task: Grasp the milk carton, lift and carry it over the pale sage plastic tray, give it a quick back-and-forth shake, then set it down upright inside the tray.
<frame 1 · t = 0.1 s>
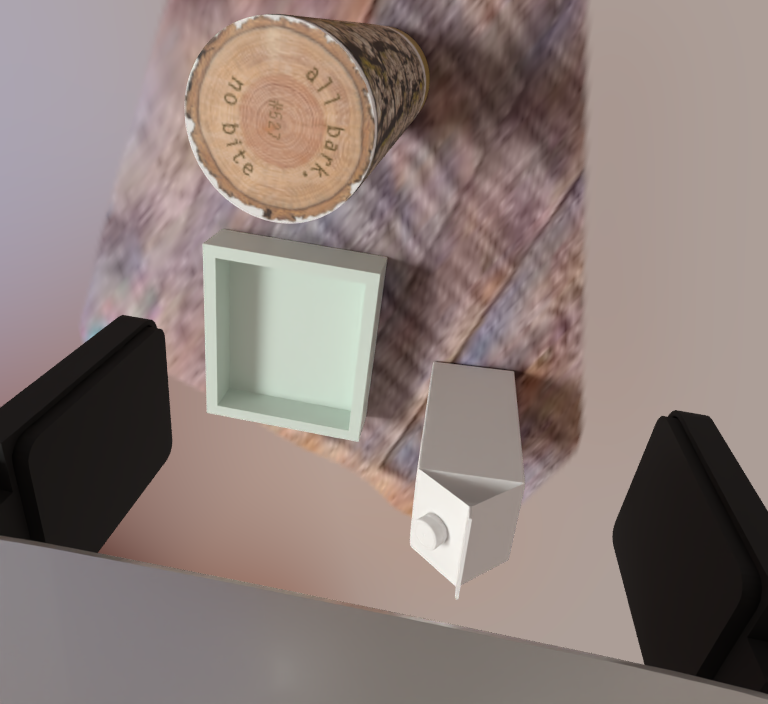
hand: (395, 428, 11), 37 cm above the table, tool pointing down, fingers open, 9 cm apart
paper tube: (383, 79, 42), on the table
tray: (298, 328, 53), on the table
milk carton: (468, 397, 54), on the table
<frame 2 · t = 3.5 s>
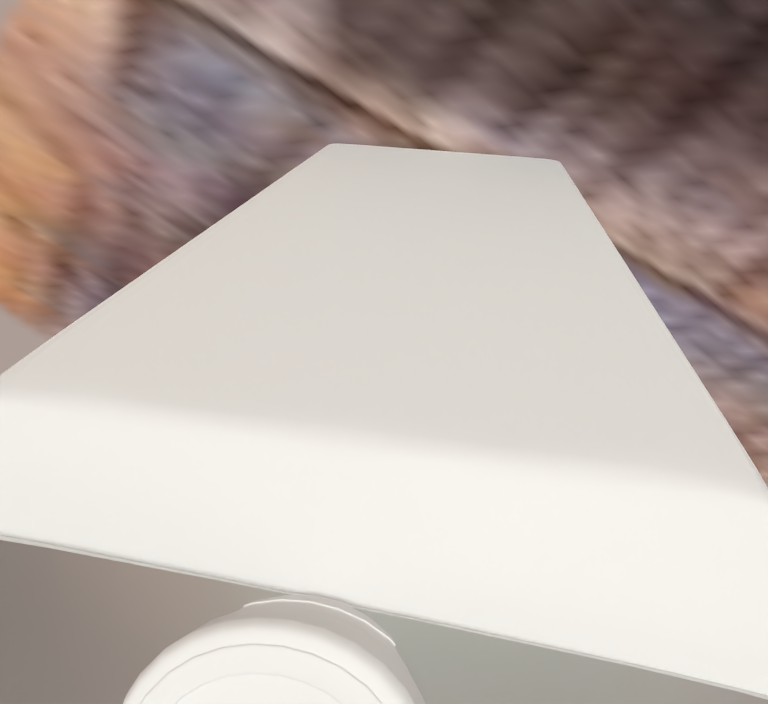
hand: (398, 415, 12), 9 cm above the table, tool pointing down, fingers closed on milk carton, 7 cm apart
milk carton: (433, 258, 20), on the table, touching gripper
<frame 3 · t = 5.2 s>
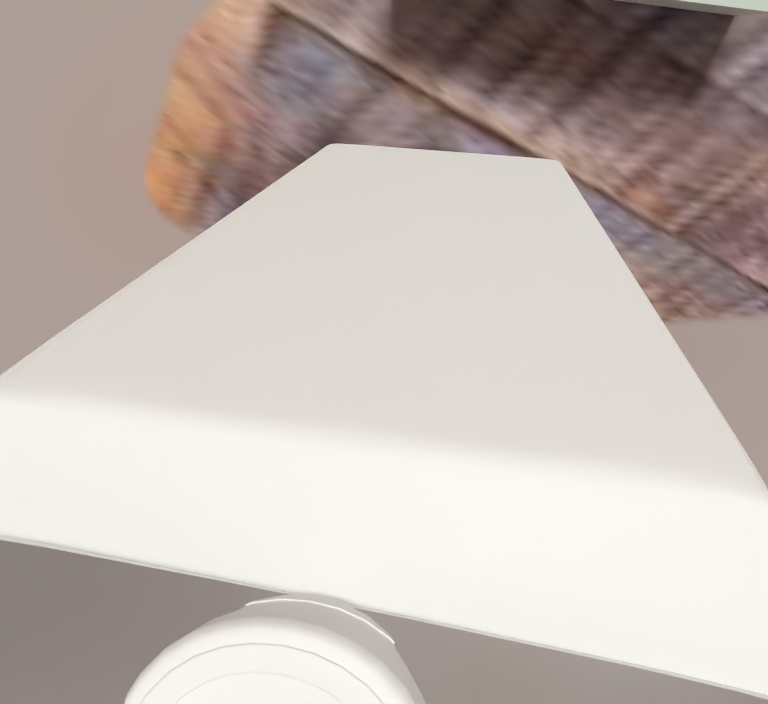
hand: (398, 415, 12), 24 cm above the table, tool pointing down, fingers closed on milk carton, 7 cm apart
milk carton: (433, 258, 20), point 14 cm above the table, touching gripper
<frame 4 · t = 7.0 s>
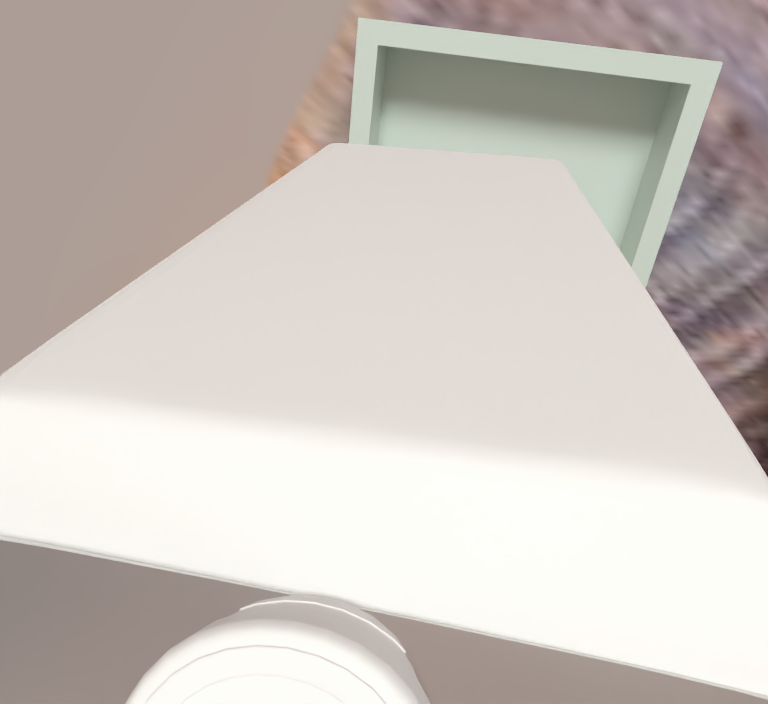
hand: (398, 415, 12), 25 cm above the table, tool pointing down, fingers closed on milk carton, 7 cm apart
tray: (502, 181, 33), on the table
milk carton: (434, 258, 20), point 15 cm above the table, touching gripper
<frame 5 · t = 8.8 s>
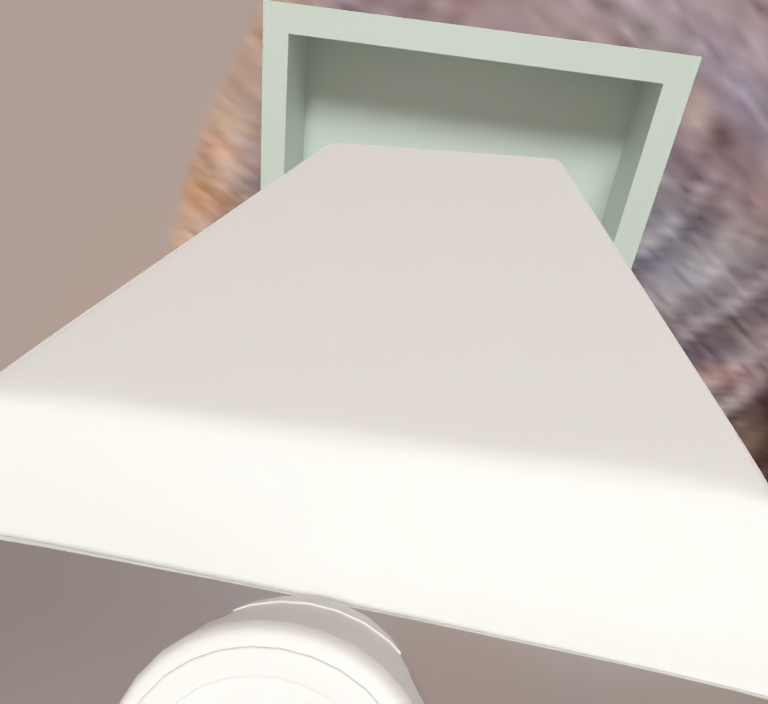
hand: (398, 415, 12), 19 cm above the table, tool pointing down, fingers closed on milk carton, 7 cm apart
tray: (449, 194, 28), on the table
milk carton: (432, 258, 20), point 10 cm above the table, touching gripper
when the fingers open (12 cm above the table, at t = 10.6 s): milk carton drops 2 cm, resting on tray.
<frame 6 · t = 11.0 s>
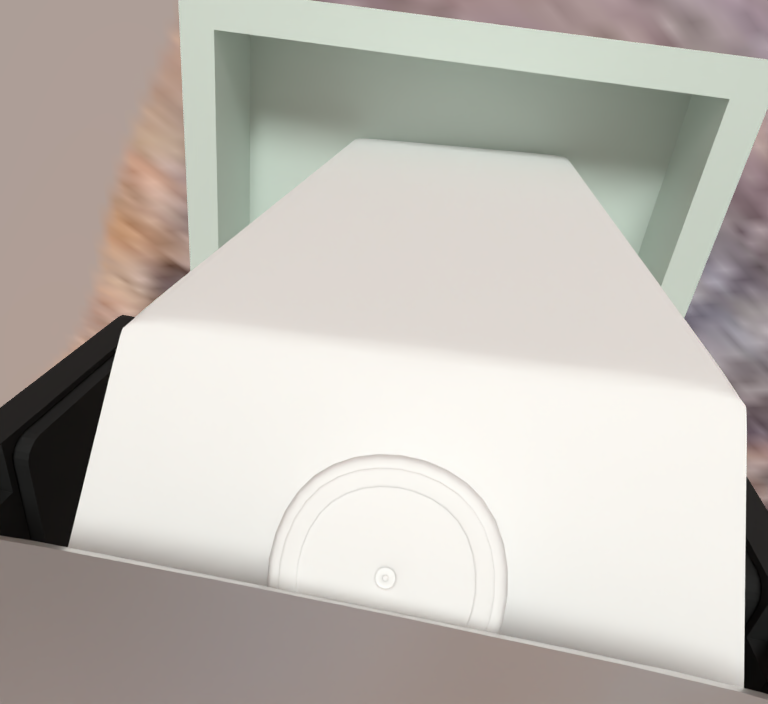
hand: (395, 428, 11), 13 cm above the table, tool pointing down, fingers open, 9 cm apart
tray: (437, 234, 22), on the table
milk carton: (448, 245, 22), point 1 cm above the table, touching tray
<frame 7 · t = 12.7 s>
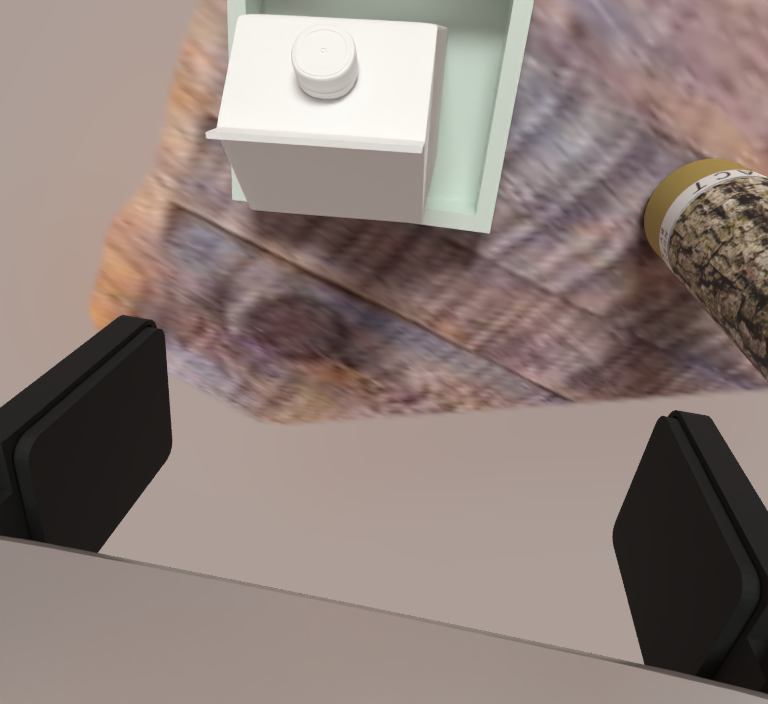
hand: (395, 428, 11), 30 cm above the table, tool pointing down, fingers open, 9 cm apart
paper tube: (696, 210, 38), on the table
tray: (378, 87, 36), on the table
milk carton: (383, 90, 36), point 1 cm above the table, touching tray
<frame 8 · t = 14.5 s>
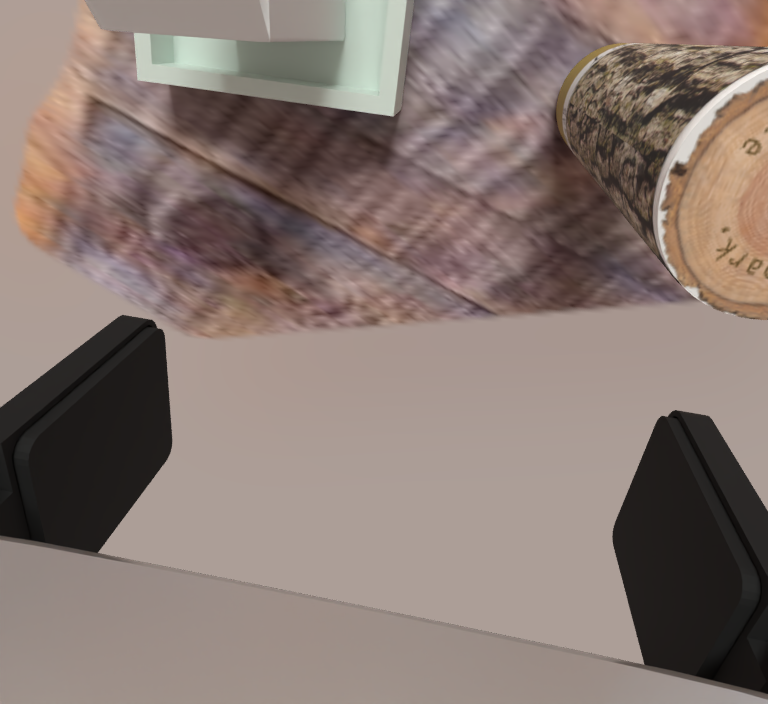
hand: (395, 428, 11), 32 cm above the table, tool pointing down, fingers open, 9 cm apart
paper tube: (610, 103, 37), on the table
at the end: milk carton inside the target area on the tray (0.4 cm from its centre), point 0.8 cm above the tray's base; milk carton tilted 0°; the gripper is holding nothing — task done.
